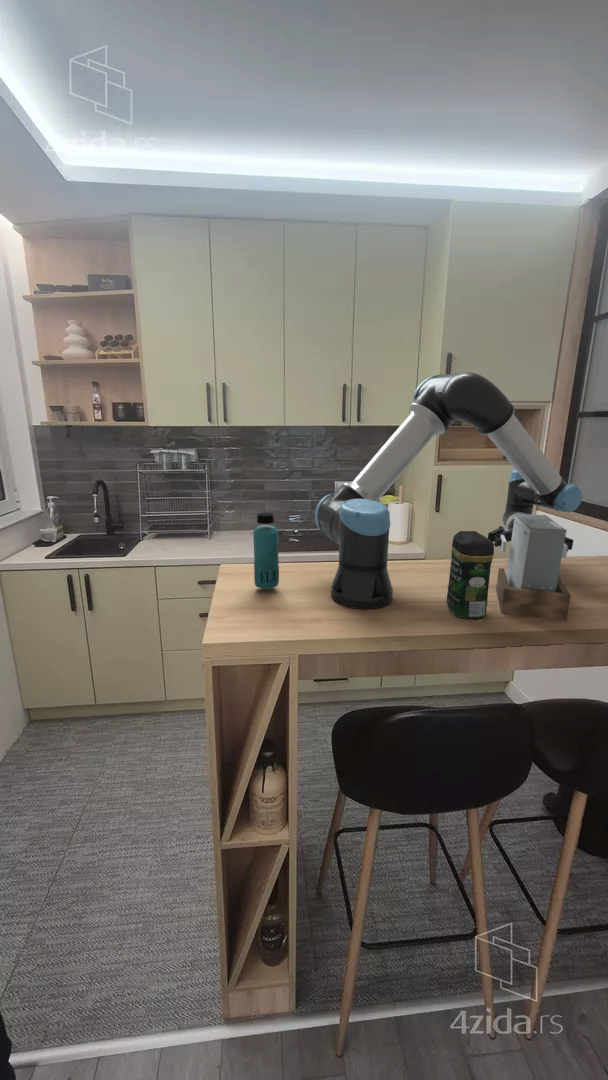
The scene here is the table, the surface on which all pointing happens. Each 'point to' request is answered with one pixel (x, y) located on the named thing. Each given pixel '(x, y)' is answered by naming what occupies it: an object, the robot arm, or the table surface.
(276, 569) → the beverage bottle
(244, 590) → the table surface
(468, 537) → the coffee jar
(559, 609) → the walnut crate
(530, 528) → the hard drive box
